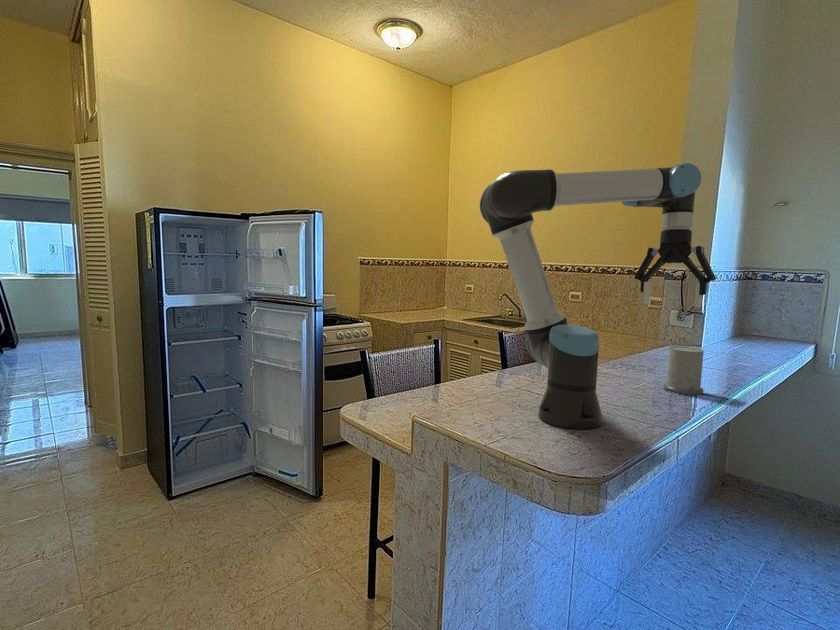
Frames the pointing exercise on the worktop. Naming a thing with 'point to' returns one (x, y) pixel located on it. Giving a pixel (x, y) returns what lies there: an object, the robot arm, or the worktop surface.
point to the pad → (682, 391)
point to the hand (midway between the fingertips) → (670, 305)
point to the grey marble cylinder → (685, 368)
